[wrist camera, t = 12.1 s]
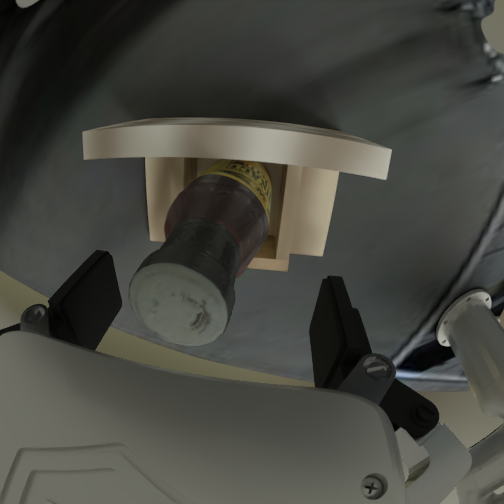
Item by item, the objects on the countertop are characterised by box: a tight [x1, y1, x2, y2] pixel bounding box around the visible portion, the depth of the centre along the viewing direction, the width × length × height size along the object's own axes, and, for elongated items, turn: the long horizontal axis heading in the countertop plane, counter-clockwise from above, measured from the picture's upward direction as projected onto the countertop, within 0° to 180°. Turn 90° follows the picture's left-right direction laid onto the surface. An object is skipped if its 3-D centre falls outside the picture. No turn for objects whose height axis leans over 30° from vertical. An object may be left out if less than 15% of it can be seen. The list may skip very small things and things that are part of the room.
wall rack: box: [83, 117, 392, 271], centre depth 23 cm, size 20×14×12 cm
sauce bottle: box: [129, 159, 272, 346], centre depth 18 cm, size 6×6×20 cm
